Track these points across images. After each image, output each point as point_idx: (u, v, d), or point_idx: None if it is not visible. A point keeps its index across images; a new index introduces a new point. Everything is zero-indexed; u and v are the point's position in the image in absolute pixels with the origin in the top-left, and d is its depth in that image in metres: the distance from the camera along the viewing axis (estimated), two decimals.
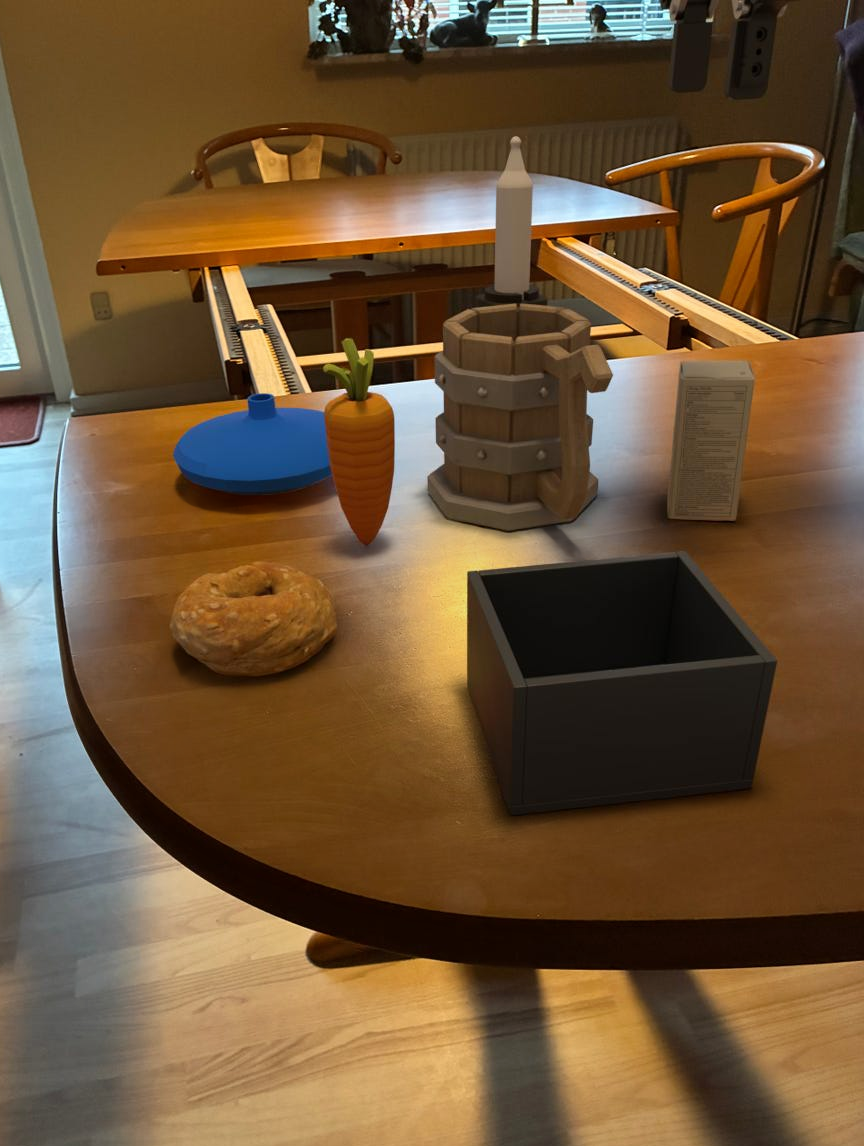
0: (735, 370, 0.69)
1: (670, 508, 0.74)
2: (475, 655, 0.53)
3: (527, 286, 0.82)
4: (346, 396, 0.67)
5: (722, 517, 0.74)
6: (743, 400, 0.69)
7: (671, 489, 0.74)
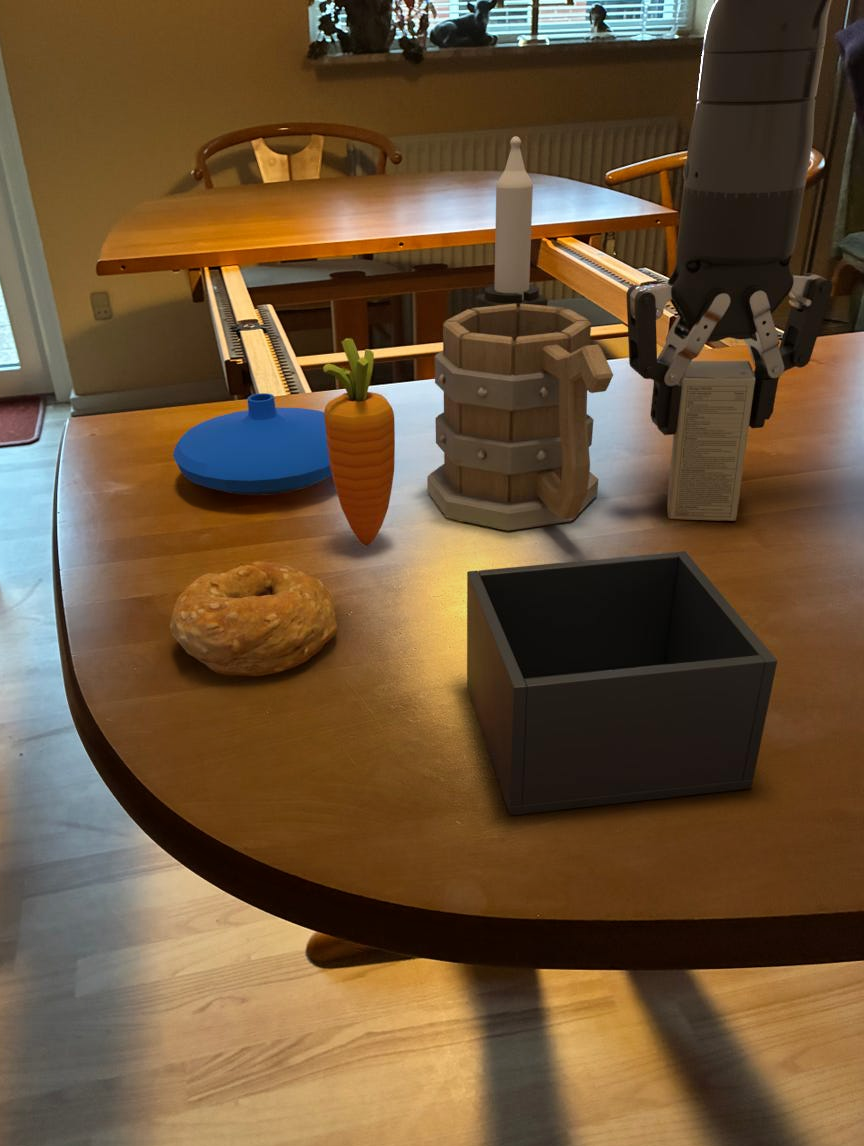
0: (735, 370, 0.69)
1: (670, 508, 0.74)
2: (475, 655, 0.53)
3: (527, 286, 0.82)
4: (346, 396, 0.67)
5: (722, 517, 0.74)
6: (743, 400, 0.69)
7: (671, 489, 0.74)
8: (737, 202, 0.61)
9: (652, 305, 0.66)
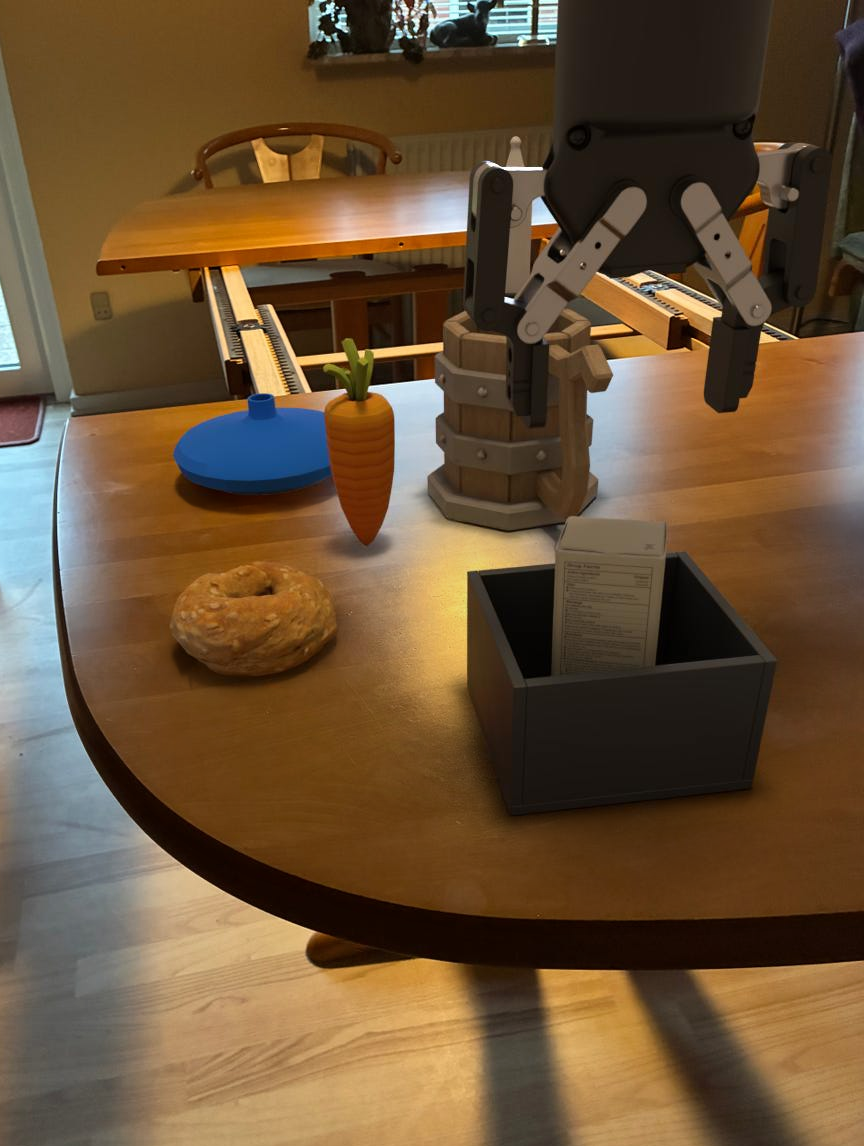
0: (639, 539, 0.46)
1: None
2: (475, 655, 0.53)
3: None
4: (346, 396, 0.67)
5: None
6: (648, 588, 0.45)
7: None
8: (647, 1, 0.32)
9: (506, 195, 0.37)
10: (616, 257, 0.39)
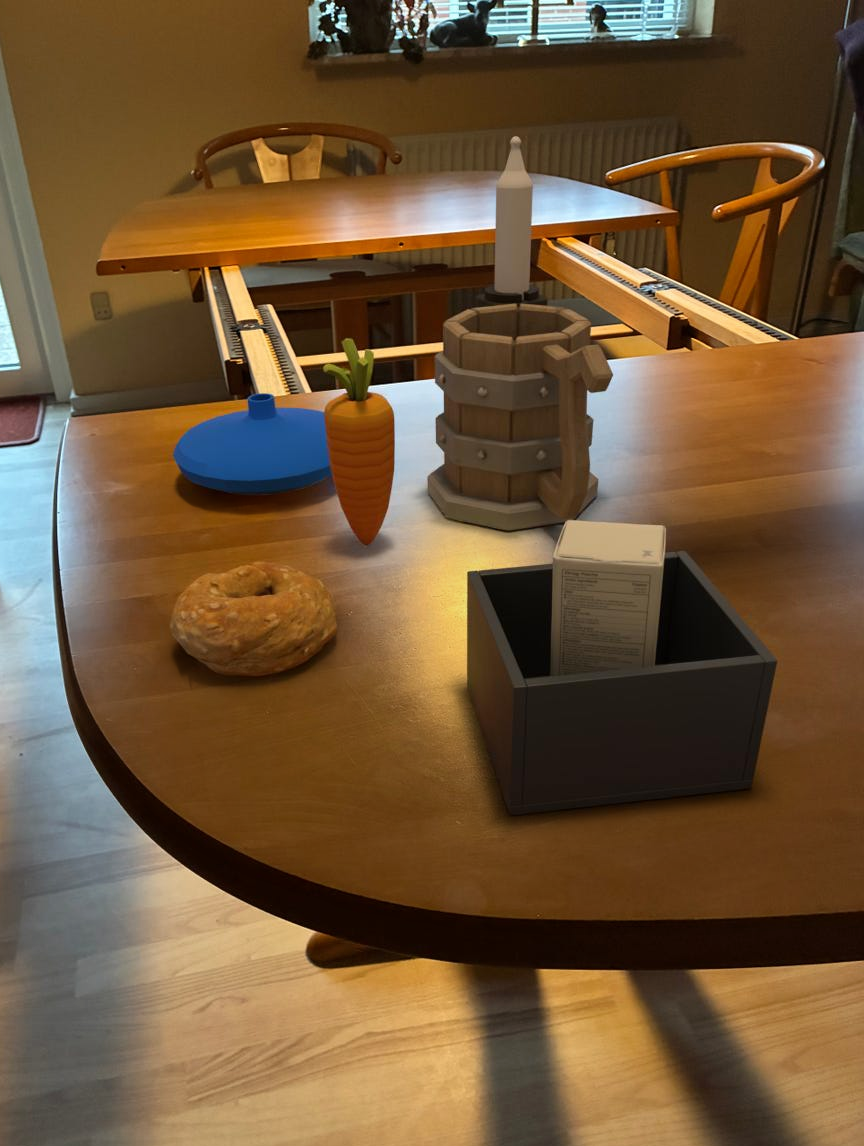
0: (637, 545, 0.46)
1: None
2: (475, 655, 0.53)
3: (527, 286, 0.82)
4: (346, 396, 0.67)
5: None
6: (646, 595, 0.45)
7: None
8: None
9: None
10: None
